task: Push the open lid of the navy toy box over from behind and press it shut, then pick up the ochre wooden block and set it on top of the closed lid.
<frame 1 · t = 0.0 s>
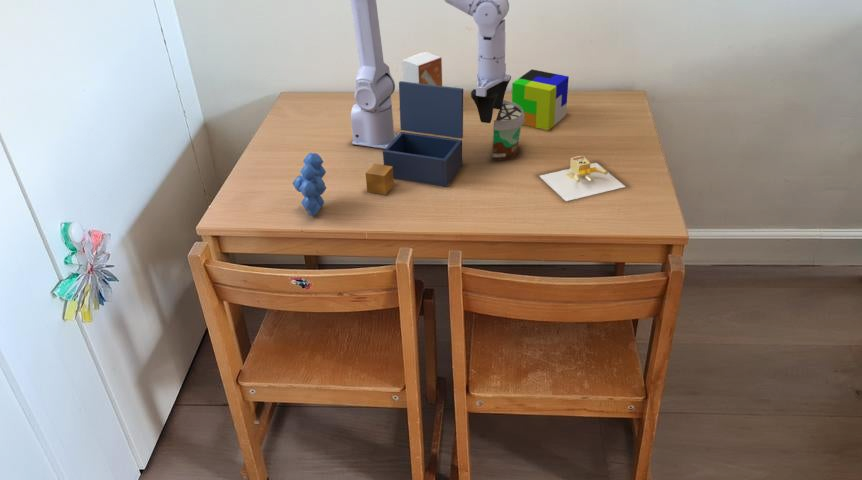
hand: (491, 115, 168), 10 cm above the table, tool pointing down, fingers open, 7 cm apart
grapes: (312, 209, 158), on the table
puzzle toy: (538, 119, 190), on the table
character toy: (581, 182, 164), on the table
lid: (431, 109, 166), point 12 cm above the table, hinge at 95.0°
small box: (424, 108, 197), on the table
block: (380, 188, 164), on the table
toy box: (424, 171, 169), on the table
food container: (508, 152, 176), on the table, touching gripper
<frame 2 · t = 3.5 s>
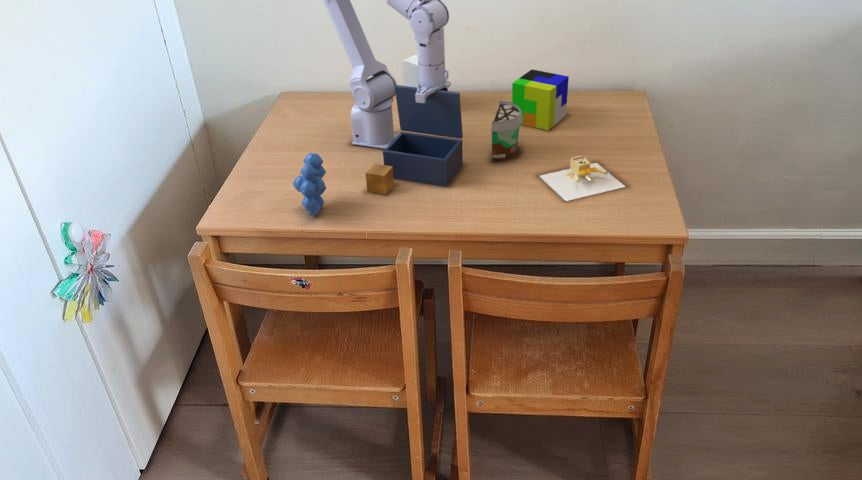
hand: (434, 121, 169), 9 cm above the table, tool pointing down, fingers closed
lid: (429, 112, 165), point 12 cm above the table, hinge at 82.8°, touching gripper
food container: (508, 153, 176), on the table
everything else where it was.
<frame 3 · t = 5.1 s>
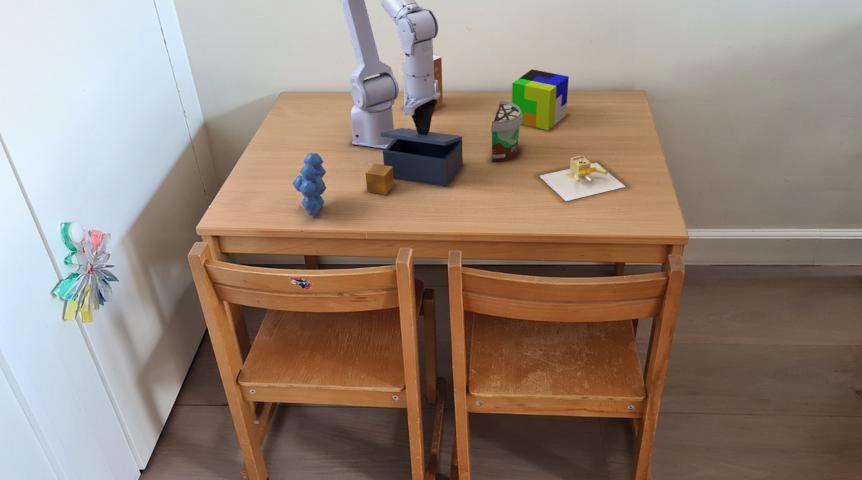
hand: (423, 133, 164), 9 cm above the table, tool pointing down, fingers closed
lid: (422, 136, 164), point 9 cm above the table, hinge at 18.7°, touching gripper
everything else where it was.
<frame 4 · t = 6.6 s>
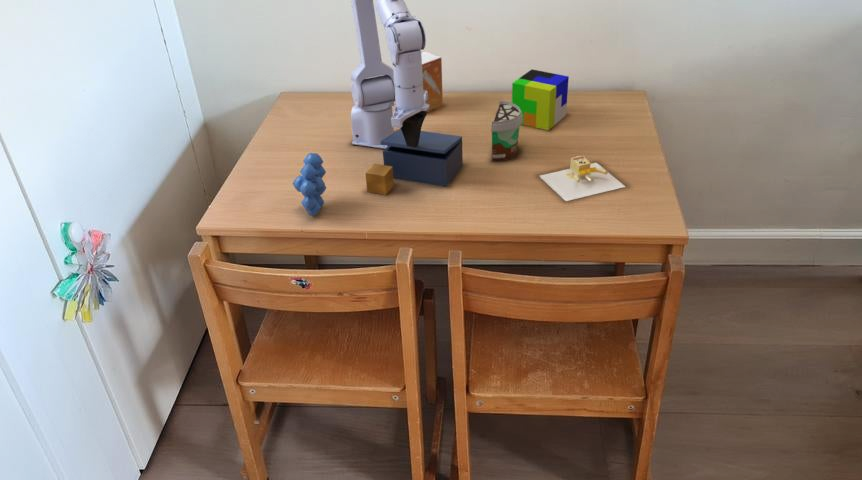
hand: (412, 145, 160), 9 cm above the table, tool pointing down, fingers closed
lid: (422, 140, 165), point 8 cm above the table, hinge at 9.4°
everything else where it was.
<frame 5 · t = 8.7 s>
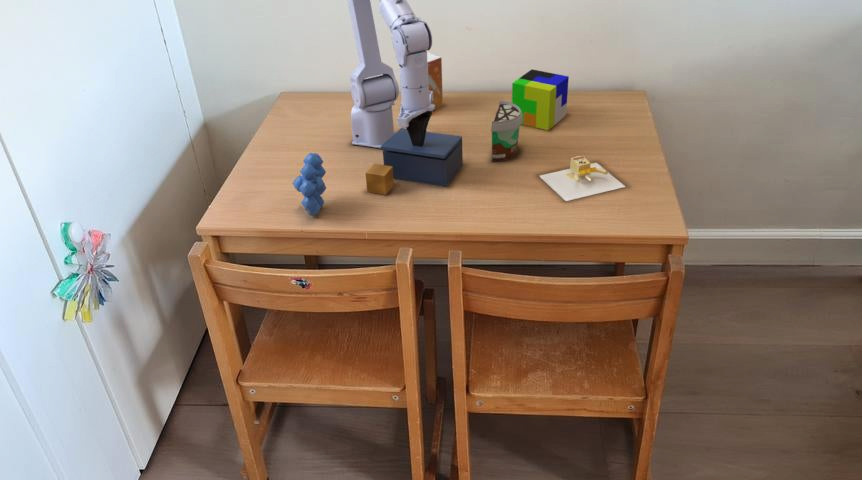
hand: (418, 144, 163), 8 cm above the table, tool pointing down, fingers closed, pressing on lid
lid: (422, 142, 165), point 7 cm above the table, hinge at 3.7°, touching gripper
everything else where it was.
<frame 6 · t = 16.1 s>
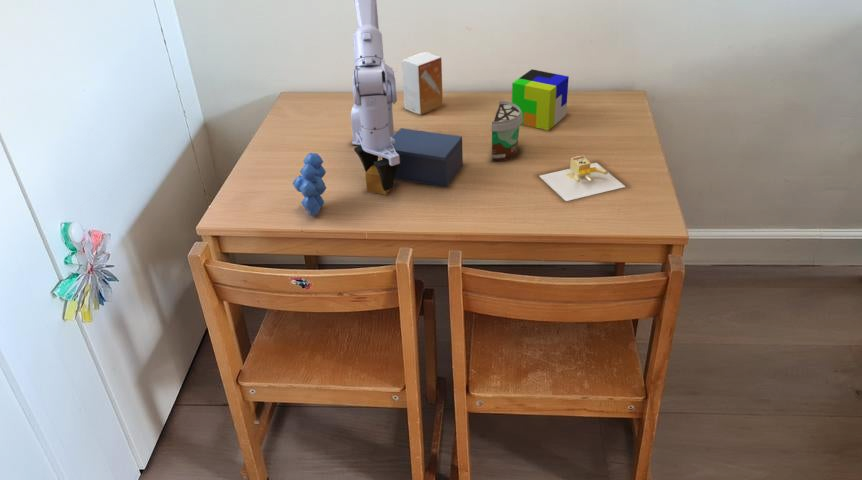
hand: (380, 182, 163), 1 cm above the table, tool pointing down, fingers closed on block, 6 cm apart
lid: (422, 143, 165), point 7 cm above the table, hinge at 1.4°
block: (380, 188, 164), on the table, touching gripper
everything else where it was.
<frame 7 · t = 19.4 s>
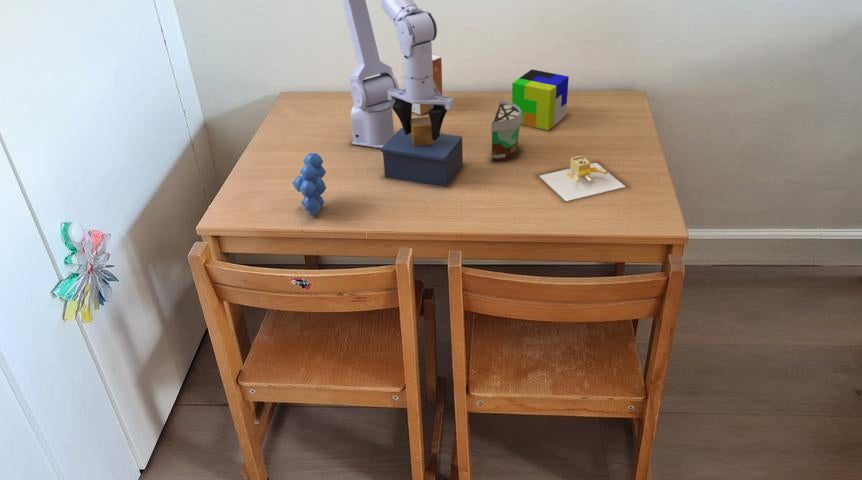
hand: (422, 135, 164), 9 cm above the table, tool pointing down, fingers closed on block, 6 cm apart
lid: (422, 144, 165), point 7 cm above the table, hinge at 0.8°, touching block
block: (422, 141, 165), point 7 cm above the table, touching gripper, lid
everything else where it was.
when the fingers open (9 cm above the table, at t = 19.6 s): block stays where it is, resting on lid.
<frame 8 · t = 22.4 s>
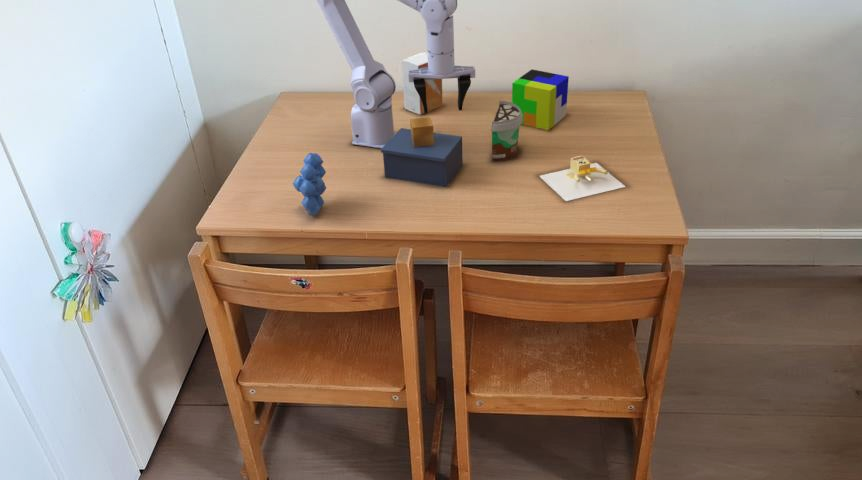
hand: (442, 110, 170), 10 cm above the table, tool pointing down, fingers open, 7 cm apart
lid: (422, 144, 165), point 7 cm above the table, hinge at -0.2°, touching block
block: (422, 142, 165), point 7 cm above the table, touching lid
everything else where it was.
at the end: lid at +0° (first picture: +95°); block inside the target area on the toy box (0.0 cm from its centre), point 7.1 cm above the toy box's base; block tilted 0° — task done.
